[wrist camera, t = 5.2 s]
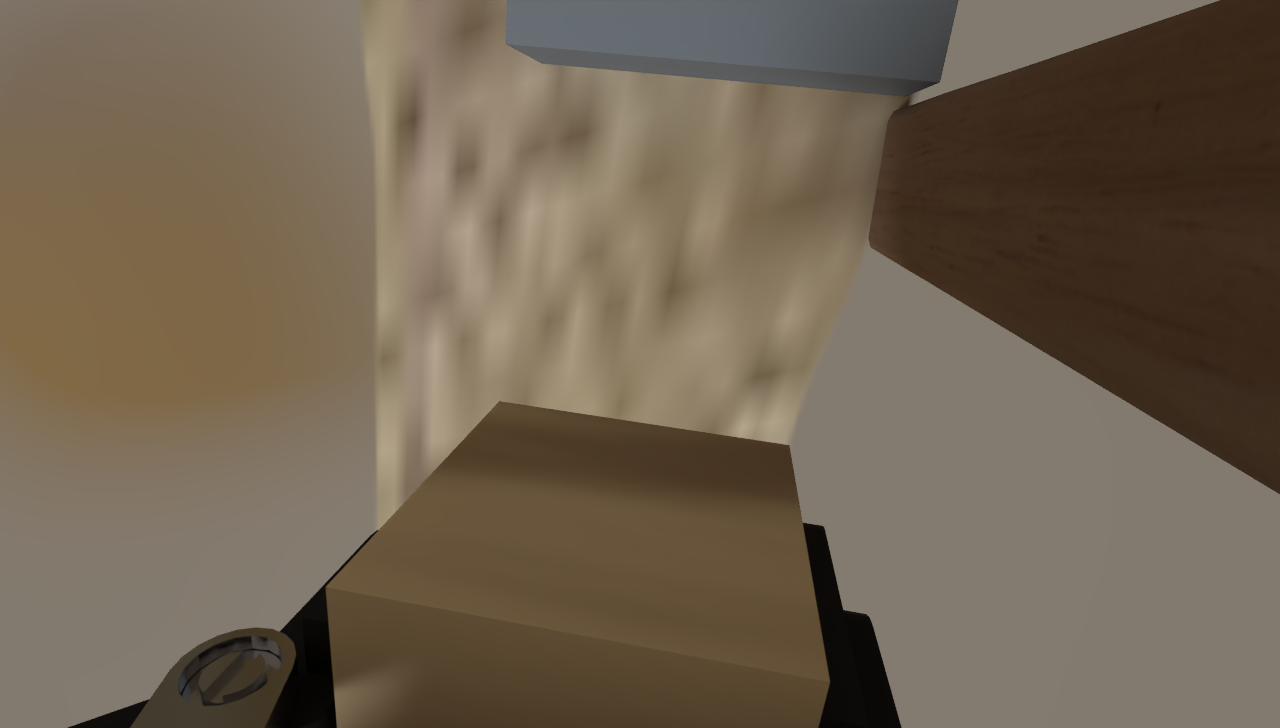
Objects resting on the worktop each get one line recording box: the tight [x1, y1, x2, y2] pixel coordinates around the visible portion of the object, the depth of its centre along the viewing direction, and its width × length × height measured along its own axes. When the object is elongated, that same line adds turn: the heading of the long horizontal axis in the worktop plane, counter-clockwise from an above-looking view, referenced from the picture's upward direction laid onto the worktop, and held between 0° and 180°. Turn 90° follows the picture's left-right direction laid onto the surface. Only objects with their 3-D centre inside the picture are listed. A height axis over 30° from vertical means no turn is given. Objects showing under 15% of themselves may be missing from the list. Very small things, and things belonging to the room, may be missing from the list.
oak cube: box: [326, 401, 830, 728], centre depth 9 cm, size 5×5×5 cm
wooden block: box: [869, 0, 1280, 494], centre depth 12 cm, size 9×4×18 cm, turn 86°
